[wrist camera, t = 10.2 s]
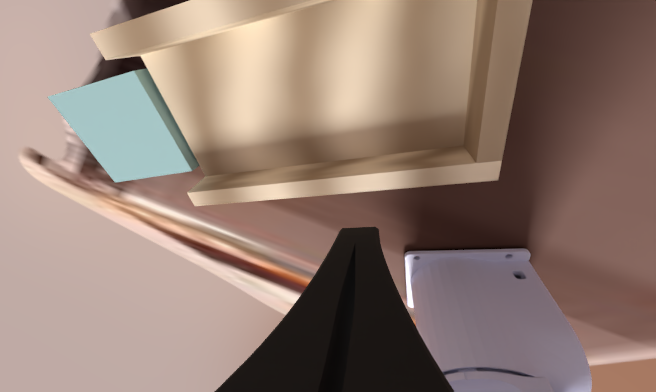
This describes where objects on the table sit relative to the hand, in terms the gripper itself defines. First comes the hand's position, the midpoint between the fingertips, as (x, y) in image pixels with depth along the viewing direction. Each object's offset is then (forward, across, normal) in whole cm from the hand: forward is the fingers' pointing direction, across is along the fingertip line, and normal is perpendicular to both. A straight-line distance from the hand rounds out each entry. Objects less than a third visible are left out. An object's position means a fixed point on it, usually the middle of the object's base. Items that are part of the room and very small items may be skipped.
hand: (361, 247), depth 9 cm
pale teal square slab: (+10, +17, -4) cm, 20 cm away
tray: (+9, +3, -4) cm, 11 cm away
